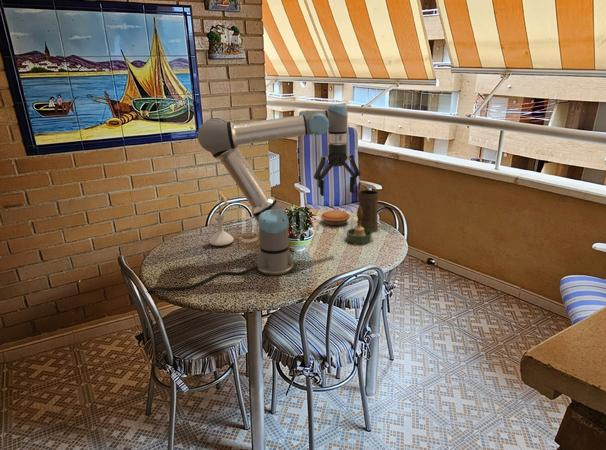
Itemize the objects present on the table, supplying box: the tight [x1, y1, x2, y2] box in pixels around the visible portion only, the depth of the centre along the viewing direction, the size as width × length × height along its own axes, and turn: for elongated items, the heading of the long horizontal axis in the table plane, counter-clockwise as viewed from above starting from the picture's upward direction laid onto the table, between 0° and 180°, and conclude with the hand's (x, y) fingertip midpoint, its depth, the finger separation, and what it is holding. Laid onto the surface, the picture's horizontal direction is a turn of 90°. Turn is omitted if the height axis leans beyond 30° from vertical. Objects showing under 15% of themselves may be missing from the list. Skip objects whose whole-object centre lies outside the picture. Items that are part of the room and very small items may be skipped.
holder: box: [346, 227, 373, 245], centre depth 195 cm, size 12×12×4 cm
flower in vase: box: [209, 190, 235, 247], centre depth 191 cm, size 13×11×25 cm
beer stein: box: [356, 189, 379, 233], centre depth 209 cm, size 15×11×20 cm
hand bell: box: [353, 205, 366, 236], centre depth 193 cm, size 8×8×16 cm
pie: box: [320, 210, 351, 226], centre depth 219 cm, size 16×16×5 cm
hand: (337, 193), depth 175 cm, fingers open, 13 cm apart
